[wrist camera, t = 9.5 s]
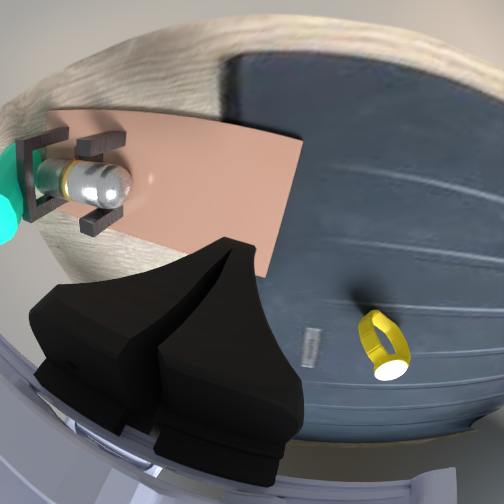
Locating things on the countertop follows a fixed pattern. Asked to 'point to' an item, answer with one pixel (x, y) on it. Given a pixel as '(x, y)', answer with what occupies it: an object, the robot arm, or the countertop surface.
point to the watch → (384, 363)
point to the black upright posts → (45, 204)
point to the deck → (190, 177)
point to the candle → (11, 192)
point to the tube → (84, 182)
